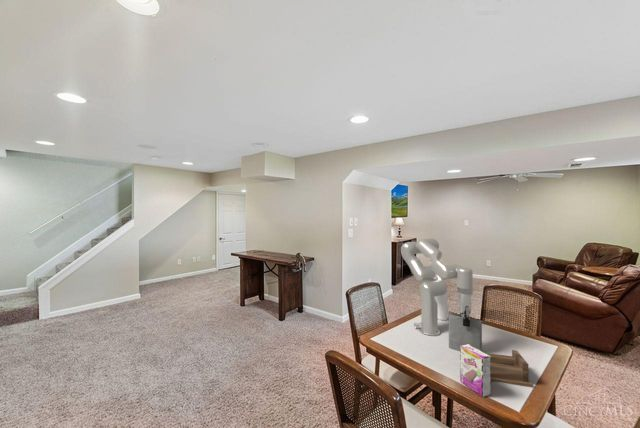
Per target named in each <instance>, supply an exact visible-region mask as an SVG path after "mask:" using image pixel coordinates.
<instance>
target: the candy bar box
mask: <svg viewBox="0 0 640 428" xmlns="http://www.w3.org/2000/svg"><path fill="white" fill-rule="evenodd" d="M459 352H460V355H459V358H460V359H459V360H460V363H459V365H460V366H459V367H460V368H459V371H460V372H459V373H460V375H459V376H460V377H459V378H460V379H459V380H460V383H462V384H463V385H465V386H466V387H467V388H469V389H470V390H472V391H473V392H475V393H476V394H478V395H479V396H480V397H482V398H485V397H487V396H491V394H492V393H491V387H492V386H491V383H492V381H491V376H490V375H491V367H490V366H491V356H489V355H487V354H485V353H486V352H484V351H483V350H482V351H480V350H478V349H476V348H474V347H473V346H471V345H469V344H466V345H461V346H460V351H459Z"/></svg>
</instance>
